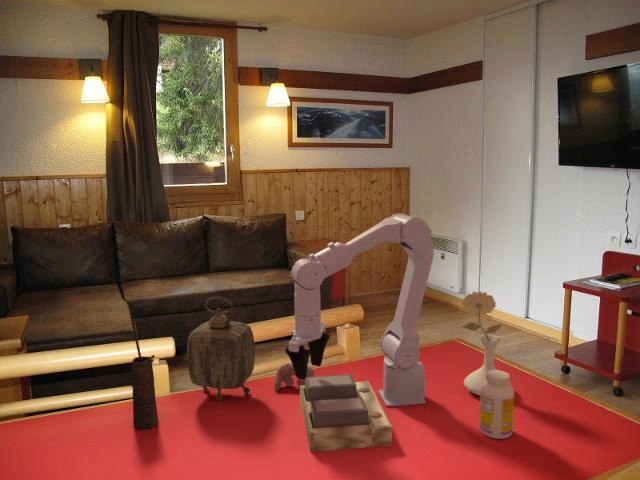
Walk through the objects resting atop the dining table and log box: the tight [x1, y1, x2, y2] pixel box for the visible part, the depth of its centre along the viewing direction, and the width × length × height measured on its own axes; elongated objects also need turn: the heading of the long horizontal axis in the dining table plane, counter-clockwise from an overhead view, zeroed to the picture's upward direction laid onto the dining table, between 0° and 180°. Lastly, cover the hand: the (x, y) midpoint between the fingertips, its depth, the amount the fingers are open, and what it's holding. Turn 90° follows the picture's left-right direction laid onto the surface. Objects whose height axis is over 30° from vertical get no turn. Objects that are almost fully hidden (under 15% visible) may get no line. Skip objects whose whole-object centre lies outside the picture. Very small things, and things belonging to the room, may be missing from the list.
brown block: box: [311, 397, 368, 429], centre depth 113 cm, size 11×6×4 cm, turn 98°
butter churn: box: [127, 300, 159, 430], centre depth 118 cm, size 9×10×28 cm
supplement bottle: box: [479, 369, 515, 440], centre depth 114 cm, size 7×7×13 cm
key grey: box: [305, 373, 356, 401], centre depth 125 cm, size 11×6×4 cm, turn 98°
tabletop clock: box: [186, 296, 256, 402], centre depth 130 cm, size 14×9×25 cm, turn 78°
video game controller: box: [274, 363, 315, 392], centre depth 137 cm, size 10×5×7 cm, turn 84°
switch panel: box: [299, 380, 393, 453], centre depth 119 cm, size 16×22×4 cm
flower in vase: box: [461, 291, 513, 397], centre depth 132 cm, size 13×11×25 cm
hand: (308, 371), depth 123 cm, fingers open, 7 cm apart
